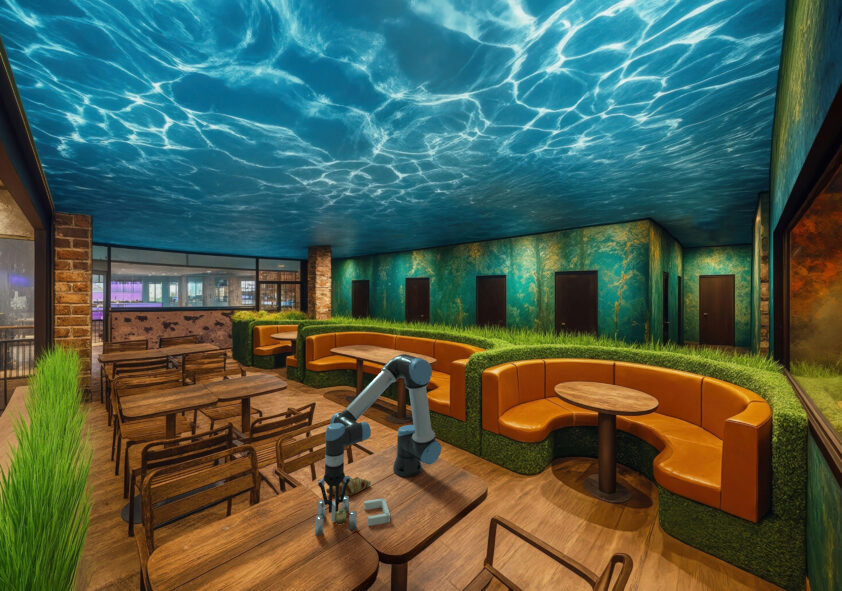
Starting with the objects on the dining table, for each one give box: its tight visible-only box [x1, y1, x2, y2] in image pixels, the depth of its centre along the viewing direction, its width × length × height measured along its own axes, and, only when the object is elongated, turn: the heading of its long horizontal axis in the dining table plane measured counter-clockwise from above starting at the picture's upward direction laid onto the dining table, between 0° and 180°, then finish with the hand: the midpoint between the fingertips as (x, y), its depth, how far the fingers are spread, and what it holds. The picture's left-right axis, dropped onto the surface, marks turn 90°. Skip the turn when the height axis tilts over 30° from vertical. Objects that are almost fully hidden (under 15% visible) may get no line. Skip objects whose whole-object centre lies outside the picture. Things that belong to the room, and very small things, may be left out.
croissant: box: [325, 476, 372, 497], centre depth 165 cm, size 21×10×8 cm, turn 116°
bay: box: [363, 497, 391, 527], centre depth 148 cm, size 12×9×3 cm
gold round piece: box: [334, 508, 348, 525], centre depth 143 cm, size 5×5×4 cm
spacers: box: [314, 495, 358, 537], centre depth 143 cm, size 14×16×6 cm
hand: (333, 519), depth 143 cm, fingers closed
